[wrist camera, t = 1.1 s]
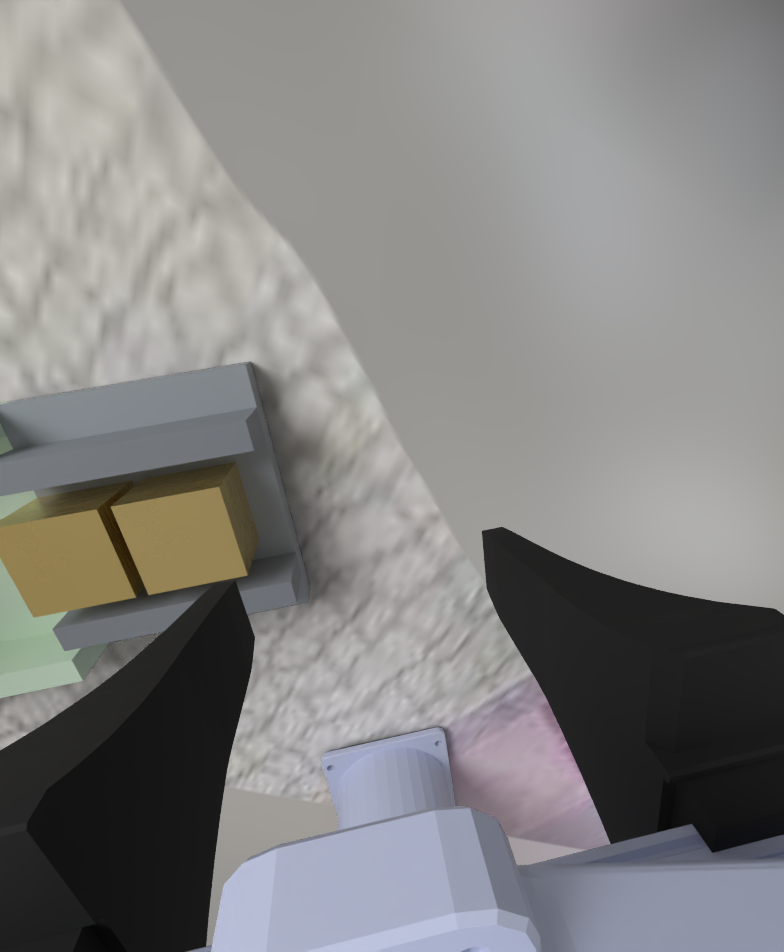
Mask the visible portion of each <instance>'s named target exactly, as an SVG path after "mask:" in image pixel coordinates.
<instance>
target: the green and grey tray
mask: <svg viewBox="0 0 784 952" xmlns="http://www.w3.org/2000/svg"><path fill="white" fill-rule="evenodd" d="M232 462H236V464H237V467H238V470H239V474H240V477H241V480H242V484H243V487H244V490H245V494H246V497H247V500H248V504H249V507H250V510H251V514H252V517H253V520H254V524H255V527H256V530H257V534H258V537H259V543H258V546H257V549H256V552H255V555H254V558H253V561H252V564H251V567H250V570H249V573H248V576H243V577H238V578H233V579H228V580H222V581H217V582H212V583H207V584H202V585H197V586H192V587H187V588H182V589H177V590H172V591H167V592H162V593H157V594H152V595H148V593H147V590H146V588H145V586H144V587H143V588H142V590H141V591H140V593H139V594H138V596H137V597H136V598H131V599H126V600H121V601H116V602H111V603H106V604H101V605H96V606H91V607H86V608H81V609H76V610H71V611H66V612H61V613H56V614H50V615H45V616H40V617H35V618H33V616H32V614H31V612H30V610H29V609H28V607H27V605H26V603H25V602H24V600H23V598H22V596H21V595H20V593H19V591H18V589H17V587H16V586H15V584H14V582H13V580H12V579H11V577H10V575H9V573H8V571H7V570H6V568H5V566H4V564H3V563H2V561H1V559H0V698H4V697H8V696H13V695H18V694H23V693H28V692H32V691H37V690H42V689H47V688H52V687H56V686H61V685H66V684H71V683H76V682H80V681H83V680H84V679H85V677H86V676H87V674H88V673H89V671H90V670H91V669H92V667H93V666H94V664H95V663H96V661H97V660H98V658H99V657H100V655H101V654H102V653H103V651H104V650H105V648H106V647H107V645H108V644H109V643H111V642H116V641H121V640H125V639H130V638H135V637H140V636H145V635H150V634H155V633H160V632H164V631H165V630H166V629H167V628H168V627H169V626H170V625H171V624H172V623H173V622H174V621H175V620H176V619H178V618H179V617H180V616H181V615H182V614H183V613H184V612H185V611H186V610H187V609H188V608H189V607H190V606H191V605H192V604H193V603H194V602H195V601H196V600H197V599H198V598H199V597H200V596H201V595H202V594H204V593H205V592H206V591H207V590H208V589H209V588H210V587H212V586H213V585H214V584H219V583H224V582H229V581H234V580H236V583H237V586H238V589H239V592H240V595H241V598H242V601H243V604H244V607H245V610H246V613H247V615H248V614H253V613H258V612H263V611H268V610H273V609H278V608H283V607H288V606H293V605H297V604H302V603H307V602H309V598H310V585H309V581H308V578H307V574H306V570H305V566H304V562H303V559H302V555H301V551H300V547H299V543H298V540H297V536H296V532H295V528H294V524H293V521H292V517H291V513H290V509H289V505H288V502H287V498H286V494H285V490H284V486H283V483H282V479H281V475H280V471H279V467H278V464H277V460H276V456H275V452H274V448H273V445H272V441H271V437H270V433H269V429H268V426H267V422H266V418H265V414H264V410H263V407H262V403H261V399H260V395H259V391H258V388H257V384H256V380H255V376H254V372H253V369H252V365H251V361H250V362H244V363H238V364H232V365H226V366H220V367H214V368H208V369H202V370H196V371H190V372H184V373H178V374H172V375H166V376H160V377H154V378H148V379H142V380H136V381H130V382H124V383H118V384H112V385H106V386H100V387H94V388H88V389H82V390H76V391H70V392H63V393H57V394H51V395H45V396H39V397H33V398H27V399H21V400H15V401H9V402H3V403H0V520H1V519H3V518H5V517H6V516H8V515H9V514H11V513H13V512H14V511H16V510H18V509H19V508H21V507H23V506H24V505H26V504H27V503H29V502H31V501H32V500H34V499H36V498H38V497H43V496H49V495H54V494H60V493H66V492H71V491H77V490H82V489H88V488H93V487H99V486H104V485H110V484H115V483H121V482H127V481H133V484H134V486H135V485H137V484H138V483H139V482H140V481H141V480H143V479H144V478H149V477H154V476H160V475H165V474H171V473H176V472H182V471H188V470H193V469H199V468H204V467H210V466H215V465H221V464H226V463H232Z"/></svg>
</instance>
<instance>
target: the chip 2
mask: <svg viewBox="0 0 784 952" xmlns="http://www.w3.org/2000/svg"><path fill="white" fill-rule="evenodd" d="M111 509H112V511H113V514H114V516H115V518H116V521H117V523H118V525H119V528H120V530H121V532H122V535H123V537H124V539H125V542H126V544H127V546H128V549H129V551H130V553H131V555H132V558H133V560H134V562H135V565H136V567H137V569H138V572H139V574H140V576H141V579H142V581H143V583H144V586H145V588H146V590H147V593H148V595H152V594H157V593H162V592H167V591H172V590H177V589H182V588H187V587H192V586H197V585H202V584H207V583H212V582H217V581H222V580H228V579H233V578H238V577H243V576H248V573H249V570H250V567H251V564H252V561H253V558H254V555H255V552H256V549H257V546H258V543H259V537H258V534H257V530H256V527H255V524H254V520H253V517H252V514H251V510H250V507H249V504H248V500H247V497H246V494H245V490H244V487H243V484H242V480H241V477H240V474H239V470H238V467H237V464H236V462H232V463H226V464H221V465H215V466H210V467H204V468H199V469H193V470H188V471H182V472H176V473H171V474H165V475H160V476H154V477H149V478H144V479H143V480H141V481H140V482H139V483H138V484H137V485H135V486H134V487H133V488H132V489H131V490H130V491H128V492H127V493H126V494H125V495H124V496H123V497H121V498H120V499H119V500H118V501H117V502H116V503H114V504H113V505H112V506H111Z"/></svg>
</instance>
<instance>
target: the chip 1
mask: <svg viewBox="0 0 784 952" xmlns="http://www.w3.org/2000/svg"><path fill="white" fill-rule="evenodd" d="M133 487H134V484H133V481H127V482H121V483H115V484H110V485H104V486H99V487H93V488H88V489H82V490H77V491H71V492H66V493H60V494H54V495H49V496H43V497H38V498H36V499H34V500H32V501H31V502H29V503H27V504H26V505H24V506H23V507H21V508H19V509H18V510H16V511H14V512H13V513H11V514H9V515H8V516H6V517H5V518H3V519H1V520H0V559H1V561H2V563H3V564H4V566H5V568H6V570H7V571H8V573H9V575H10V577H11V579H12V580H13V582H14V584H15V586H16V587H17V589H18V591H19V593H20V595H21V596H22V598H23V600H24V602H25V603H26V605H27V607H28V609H29V610H30V612H31V614H32V616H33V618H35V617H40V616H45V615H50V614H56V613H61V612H66V611H71V610H76V609H81V608H86V607H91V606H96V605H101V604H106V603H111V602H116V601H121V600H126V599H131V598H136V597H137V596H138V594H139V593H140V591H141V590H142V588H143V587H144V583H143V581H142V579H141V576H140V574H139V572H138V569H137V567H136V565H135V562H134V560H133V558H132V555H131V553H130V551H129V549H128V546H127V544H126V542H125V539H124V537H123V535H122V532H121V530H120V528H119V525H118V523H117V521H116V518H115V516H114V514H113V511H112V509H111V506H112V505H113V504H114V503H116V502H117V501H118V500H119V499H120V498H121V497H123V496H124V495H125V494H126V493H127V492H128V491H130V490H131V489H132V488H133Z"/></svg>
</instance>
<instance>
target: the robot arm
mask: <svg viewBox="0 0 784 952" xmlns="http://www.w3.org/2000/svg"><path fill="white" fill-rule="evenodd" d="M482 537H483V549H484V561H485V573H486V584H487V590H488V593H489V595H490V597H491V600H492V602H493V605H494V607H495V609H496V611H497V614H498V616H499V618H500V620H501V622H502V623H503V625H504V627H505V628H506V630H507V632H508V633H509V635H510V637H511V638H512V640H513V642H514V643H515V645H516V647H517V648H518V650H519V652H520V653H521V655H522V657H523V658H524V660H525V662H526V663H527V665H528V667H529V668H530V670H531V672H532V673H533V675H534V677H535V678H536V680H537V682H538V683H539V685H540V687H541V689H542V691H543V693H544V694H545V696H546V698H547V700H548V703H549V705H550V707H551V709H552V711H553V713H554V715H555V717H556V719H557V722H558V724H559V726H560V728H561V730H562V732H563V734H564V737H565V739H566V741H567V743H568V745H569V748H570V750H571V752H572V754H573V757H574V759H575V761H576V763H577V765H578V768H579V770H580V772H581V774H582V777H583V779H584V781H585V784H586V786H587V788H588V791H589V793H590V795H591V798H592V800H593V802H594V805H595V807H596V809H597V812H598V814H599V816H600V819H601V821H602V824H603V826H604V828H605V831H606V833H607V836H608V838H609V841H610V843H611V844H610V845H606V846H602V847H598V848H594V849H590V850H586V851H582V852H578V853H574V854H571V855H566V856H563V857H559V858H555V859H551V860H547V861H543V862H539V863H535V864H531V865H516V862H515V859H514V856H513V853H512V850H511V847H510V844H509V841H508V838H507V836H506V834H505V832H504V830H503V829H502V827H501V825H500V823H499V822H498V820H497V818H495V817H493V816H491V815H488V814H486V813H483V812H481V811H478V810H475V809H473V808H470V807H468V806H456V805H455V798H454V792H453V785H452V778H451V771H450V764H449V758H448V751H447V744H446V737H445V733H444V730H443V729H442V728H439V727H436V728H432V729H427V730H423V731H418V732H414V733H409V734H405V735H401V736H396V737H392V738H387V739H383V740H379V741H374V742H370V743H365V744H361V745H357V746H352V747H348V748H343V749H339V750H334V751H330V752H327V753H325V754H323V755H322V759H321V764H322V767H323V771H324V774H325V777H326V780H327V784H328V787H329V790H330V793H331V797H332V800H333V803H334V806H335V810H336V813H337V816H338V831H334V832H330V833H326V834H321V835H318V836H313V837H309V838H305V839H300V840H296V841H292V842H288V843H284V844H280V845H278V846H275V847H273V848H271V849H268V850H266V851H263V852H261V853H259V854H257V855H254V856H252V857H250V858H248V859H247V860H246V861H245V862H244V863H243V864H242V865H241V866H240V867H239V868H238V870H237V871H236V872H235V873H234V874H233V875H232V876H231V877H230V879H229V880H228V881H227V882H226V883H225V884H224V887H223V892H222V897H221V902H220V907H219V912H218V918H217V923H216V928H215V933H214V938H213V943H212V945H210V946H206V941H207V928H208V917H209V907H210V897H211V888H212V878H213V869H214V860H215V852H216V844H217V836H218V829H219V821H220V813H221V805H222V799H223V793H224V786H225V780H226V773H227V767H228V763H229V758H230V753H231V749H232V745H233V741H234V737H235V733H236V729H237V726H238V722H239V718H240V714H241V710H242V706H243V702H244V698H245V694H246V690H247V686H248V682H249V678H250V674H251V668H252V660H253V651H254V641H255V636H254V633H253V630H252V627H251V624H250V622H249V619H248V616H247V613H246V610H245V607H244V604H243V601H242V598H241V595H240V592H239V589H238V586H237V583H236V580H234V581H229V582H224V583H219V584H214V585H213V586H212V587H210V588H209V589H208V590H207V591H206V592H205V593H204V594H202V595H201V596H200V597H199V598H198V599H197V600H196V601H195V602H194V603H193V604H192V605H191V606H190V607H189V608H188V609H187V610H186V611H185V612H184V613H183V614H182V615H181V616H180V617H179V618H178V619H176V620H175V621H174V622H173V623H172V624H171V625H170V626H169V627H168V628H167V629H166V630H165V631H164V632H163V633H162V634H161V635H160V636H158V637H157V638H156V639H155V640H154V641H153V642H152V643H151V644H149V645H148V646H147V647H146V648H145V649H144V650H143V651H142V652H140V653H139V654H138V655H137V656H136V657H135V658H134V659H133V660H131V661H130V662H129V663H128V664H127V665H125V666H124V667H123V668H122V669H120V670H119V671H118V672H117V673H115V674H114V675H113V676H112V677H110V678H109V679H108V680H106V681H105V682H104V683H102V684H101V685H100V686H98V687H97V688H96V689H94V690H93V691H92V692H90V693H89V694H88V695H86V696H85V697H83V698H82V699H80V700H79V701H77V702H76V703H74V704H73V705H71V706H70V707H69V708H67V709H66V710H64V711H63V712H61V713H60V714H58V715H57V716H55V717H54V718H52V719H51V720H49V721H48V722H46V723H45V724H43V725H42V726H40V727H39V728H37V729H35V730H34V731H32V732H30V733H29V734H27V735H26V736H24V737H22V738H21V739H19V740H17V741H16V742H14V743H12V744H11V745H9V746H7V747H6V748H4V749H2V750H0V952H784V615H783V614H782V613H780V612H779V611H777V610H776V609H773V608H764V607H756V606H748V605H740V604H731V603H723V602H716V601H710V600H705V599H699V598H694V597H688V596H683V595H678V594H673V593H668V592H664V591H660V590H656V589H653V588H648V587H645V586H641V585H637V584H634V583H630V582H627V581H623V580H620V579H617V578H615V577H611V576H609V575H606V574H603V573H600V572H597V571H594V570H592V569H589V568H587V567H584V566H582V565H580V564H577V563H575V562H572V561H570V560H567V559H565V558H563V557H561V556H559V555H557V554H555V553H553V552H551V551H549V550H547V549H545V548H543V547H541V546H539V545H537V544H535V543H533V542H531V541H529V540H527V539H525V538H523V537H521V536H520V535H517V534H516V533H514V532H512V531H510V530H508V529H506V528H503V527H499V528H495V529H489V530H485V531H482Z"/></svg>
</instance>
